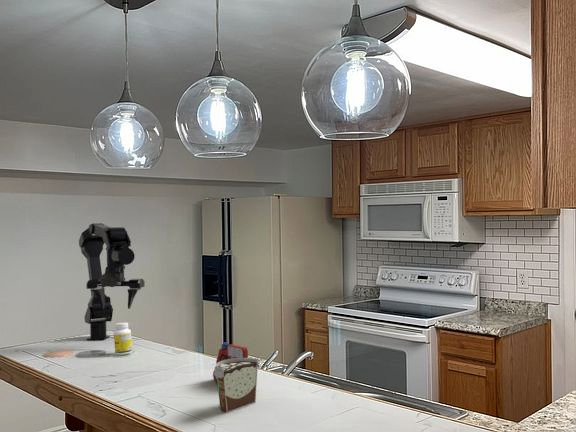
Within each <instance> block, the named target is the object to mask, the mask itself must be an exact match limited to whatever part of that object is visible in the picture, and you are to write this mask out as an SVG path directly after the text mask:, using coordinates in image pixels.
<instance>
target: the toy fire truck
mask: <svg viewBox="0 0 576 432" xmlns="http://www.w3.org/2000/svg"><path fill="white" fill-rule="evenodd" d="M234 358H249V351H248V347H247V346H241V345H237V344H230V343H229V342H223V343H222V344H221V348H219V350H218V354H217V357H216V360H215V361H216V362H215V363H216V364H217V363H218V362H220V361H223V360H227V359H234ZM216 364H215V365H216ZM212 377H213V381H214V382H215V383H216V384H217V385H218V382H217V377H216V376H215V375H214V371H213V372H212Z"/></svg>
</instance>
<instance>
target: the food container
mask: <svg viewBox="0 0 576 432" xmlns="http://www.w3.org/2000/svg"><path fill="white" fill-rule="evenodd" d="M258 360H259V359H258V358H254V357H253V358H252V357H248V358H234V359H227V360H223V361H220V362H218V363H217V364H215V366H214V370H213V372H214V375H215V376H216V377H217V382H218V384H217V391H218V398H219V399H218V401H219V409H220V411H221V412H223V413H226V414H228V413H232V412H234V411H237V410H239V409H242V408H245V407H248V406H250V405H253V404H256V400H257V383H258V368H260V361H258Z"/></svg>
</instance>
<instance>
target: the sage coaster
mask: <svg viewBox="0 0 576 432" xmlns="http://www.w3.org/2000/svg"><path fill="white" fill-rule="evenodd" d="M134 352H135V351H133V350H132V353H130V354H125V355H116V354H115V352H114V353H111V354H109V357H112V358H119V359H121V358H130V357H136V356H135V355H133V353H134Z"/></svg>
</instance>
